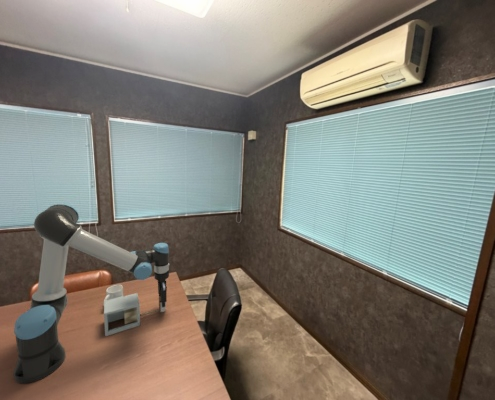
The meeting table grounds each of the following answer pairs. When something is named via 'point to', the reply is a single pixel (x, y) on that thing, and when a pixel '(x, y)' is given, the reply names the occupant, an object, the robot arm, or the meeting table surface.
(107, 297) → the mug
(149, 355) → the meeting table surface
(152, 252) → the robot arm
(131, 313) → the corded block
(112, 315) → the box
